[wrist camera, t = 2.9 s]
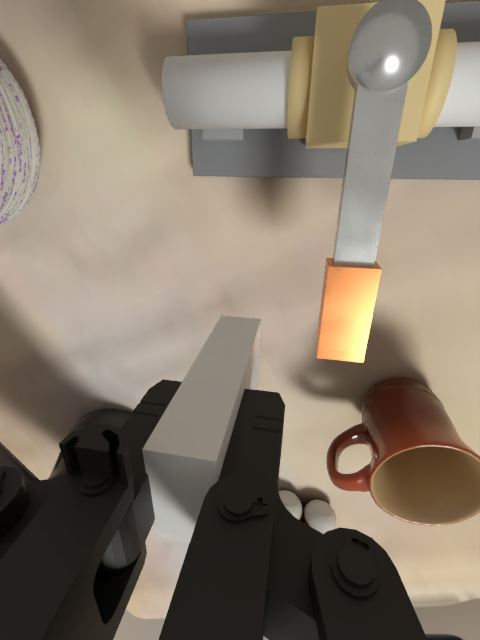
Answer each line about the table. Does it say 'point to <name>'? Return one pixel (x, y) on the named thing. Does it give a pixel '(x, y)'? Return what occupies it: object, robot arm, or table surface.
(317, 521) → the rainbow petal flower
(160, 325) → the table surface
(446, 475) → the mug
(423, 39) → the valve lever
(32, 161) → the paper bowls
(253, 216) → the table surface
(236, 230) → the table surface
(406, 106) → the valve fixture
